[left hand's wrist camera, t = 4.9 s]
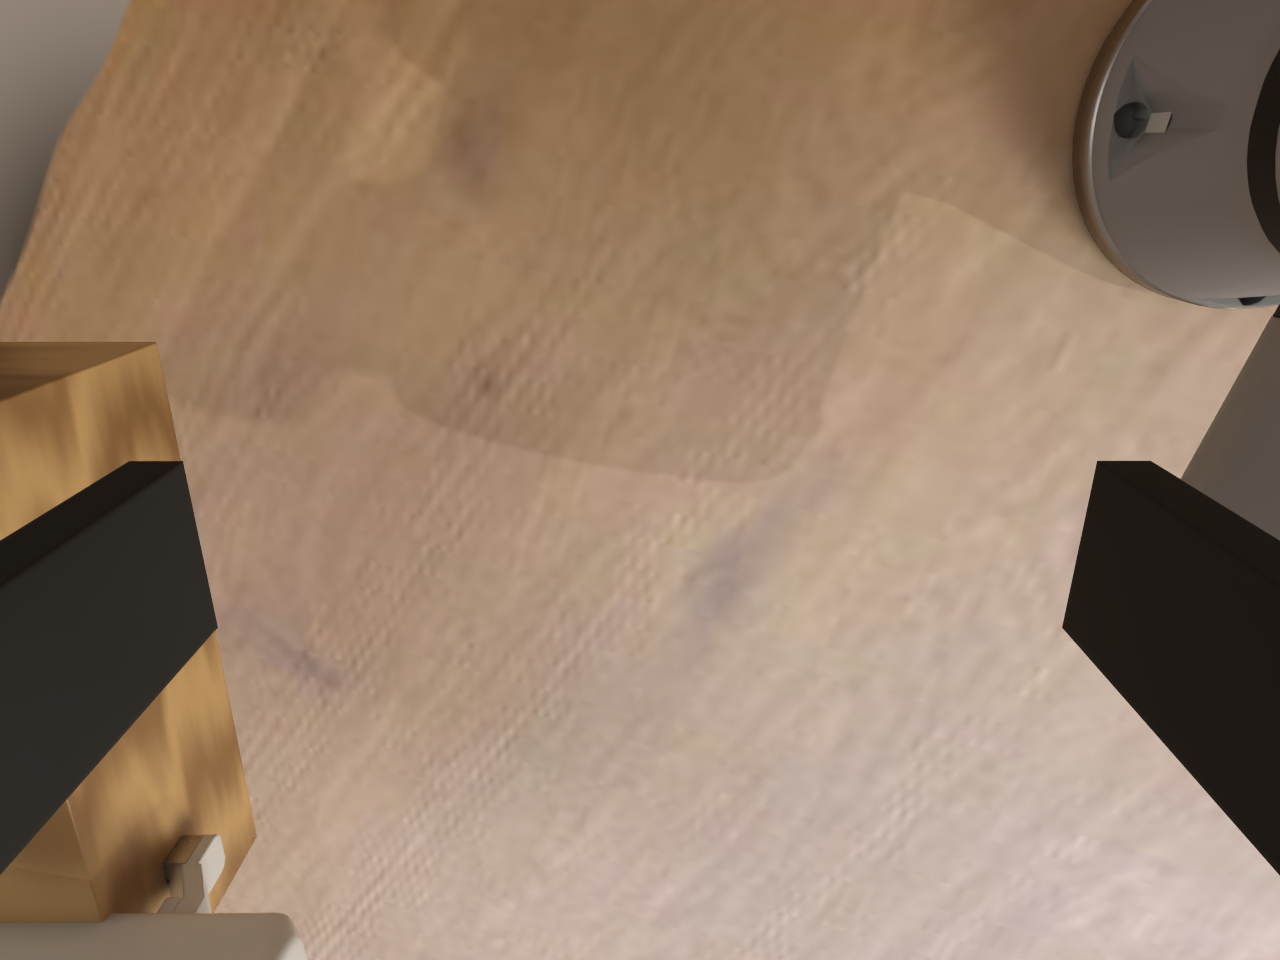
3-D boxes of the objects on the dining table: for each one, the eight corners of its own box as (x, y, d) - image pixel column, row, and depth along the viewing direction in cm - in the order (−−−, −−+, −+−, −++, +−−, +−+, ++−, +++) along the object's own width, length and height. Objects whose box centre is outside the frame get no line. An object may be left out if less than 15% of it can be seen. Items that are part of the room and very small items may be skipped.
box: (-13, 341, 32) (-290, 418, 23) (157, 341, 32) (-47, 418, 23) (122, 836, 41) (-38, 1046, 31) (257, 836, 41) (139, 1046, 31)
